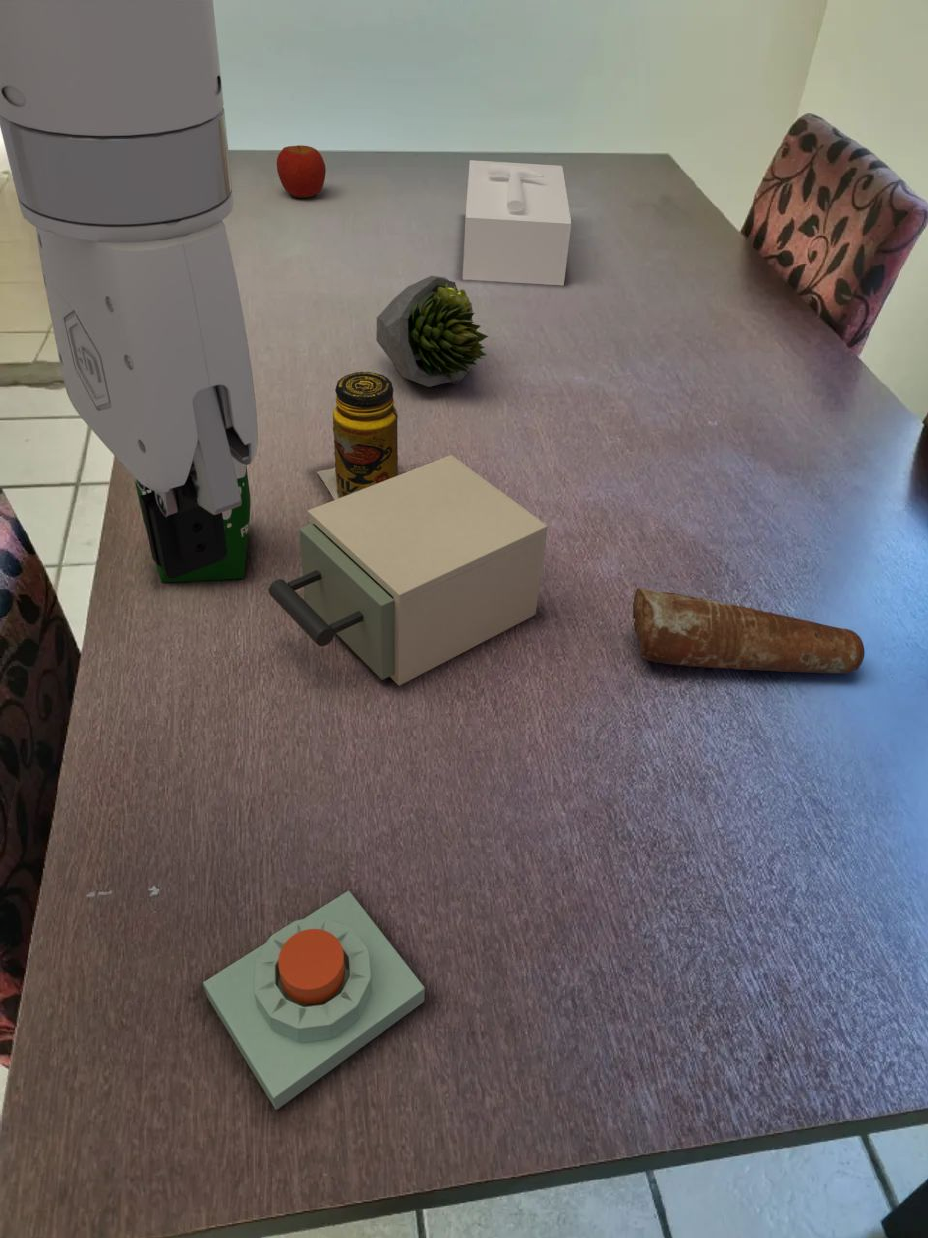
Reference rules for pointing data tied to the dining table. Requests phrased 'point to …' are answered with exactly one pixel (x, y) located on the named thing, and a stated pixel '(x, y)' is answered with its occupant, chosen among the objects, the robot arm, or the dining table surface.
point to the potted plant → (430, 332)
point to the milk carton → (234, 533)
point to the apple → (301, 170)
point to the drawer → (340, 602)
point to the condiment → (362, 434)
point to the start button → (311, 966)
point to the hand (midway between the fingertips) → (191, 559)
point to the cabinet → (441, 558)
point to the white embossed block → (516, 223)
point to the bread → (738, 637)
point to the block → (313, 1033)
